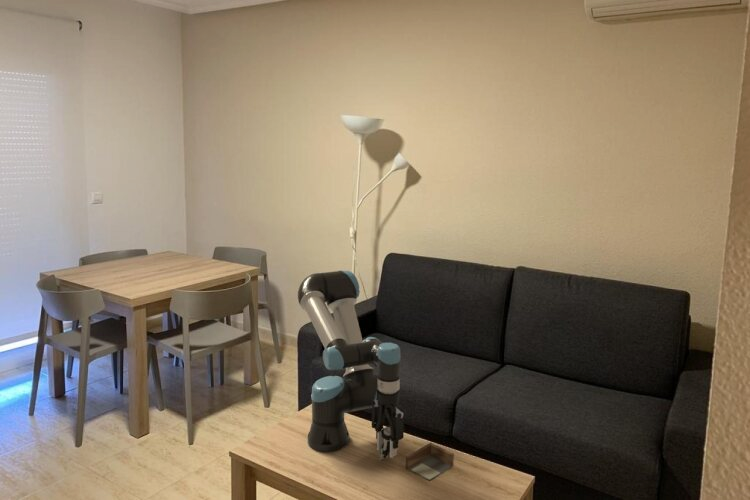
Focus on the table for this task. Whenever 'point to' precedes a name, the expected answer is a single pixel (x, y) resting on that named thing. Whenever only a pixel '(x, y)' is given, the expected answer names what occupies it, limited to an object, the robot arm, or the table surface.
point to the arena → (429, 461)
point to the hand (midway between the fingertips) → (386, 452)
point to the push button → (386, 442)
